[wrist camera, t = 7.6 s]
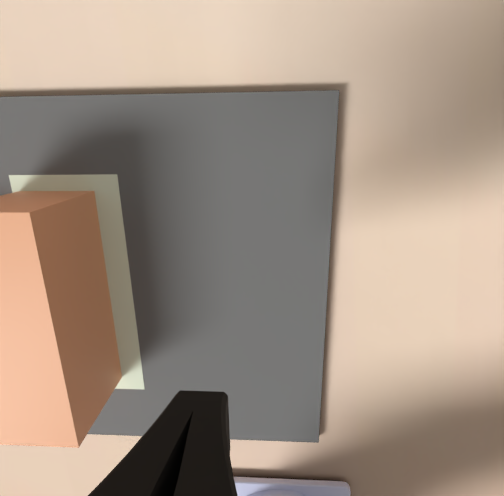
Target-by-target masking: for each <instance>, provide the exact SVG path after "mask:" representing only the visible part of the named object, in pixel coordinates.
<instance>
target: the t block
mask: <svg viewBox="0 0 504 496" xmlns="http://www.w3.org/2000/svg"><path fill="white" fill-rule="evenodd" d="M121 378H122V373H121V367H120V360H119V353H118V346H117V340H116V333H115V326H114V320H113V313H112V306H111V299H110V293H109V286H108V279H107V273H106V266H105V259H104V253H103V246H102V239H101V232H100V226H99V219H98V212H97V206H96V199H95V192H94V191H18V192H14V193H9V194H5V195H1V196H0V444H2V445H27V446H52V447H77V448H79V446H80V445H81V443H82V441H83V440H84V438H85V436H86V435H87V433H88V432H89V430H90V428H91V427H92V425H93V423H94V422H95V420H96V419H97V417H98V415H99V414H100V412H101V410H102V409H103V407H104V406H105V404H106V402H107V401H108V399H109V397H110V396H111V394H112V393H113V391H114V389H115V388H116V386H117V384H118V383H119V381H120V380H121Z"/></svg>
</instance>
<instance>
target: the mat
mask: <svg viewBox="0 0 504 496" xmlns="http://www.w3.org/2000/svg"><path fill="white" fill-rule="evenodd" d="M338 102H339V90H328V91H276V92H224V93H172V94H121V95H69V96H17V97H0V196H1V195H5V194H9V193H14V192H18V191H94V192H95V199H96V206H97V212H98V219H99V226H100V232H101V239H102V246H103V253H104V259H105V266H106V273H107V279H108V286H109V293H110V299H111V306H112V313H113V320H114V326H115V333H116V340H117V346H118V353H119V360H120V367H121V373H122V378H121V380H120V381H119V383H118V384H117V386H116V388H115V389H114V391H113V393H112V394H111V396H110V397H109V399H108V401H107V402H106V404H105V406H104V407H103V409H102V410H101V412H100V414H99V415H98V417H97V419H96V420H95V422H94V423H93V425H92V427H91V428H90V430H89V432H88V433H87V434H102V435H129V436H143V435H144V434H145V433H146V432H147V430H148V429H149V428H150V427H151V426H152V424H153V423H154V422H155V421H156V419H157V418H158V417H159V416H160V414H161V413H162V412H163V411H164V409H165V408H166V407H167V405H168V404H169V403H170V402H171V400H172V399H173V398H174V396H175V395H176V394H177V393H178V392H179V391H180V390H184V391H217V392H225V393H226V394H227V395H228V407H229V432H230V439H237V440H264V441H292V442H319V426H320V409H321V392H322V375H323V358H324V341H325V324H326V307H327V290H328V273H329V256H330V239H331V222H332V205H333V188H334V171H335V154H336V137H337V119H338Z"/></svg>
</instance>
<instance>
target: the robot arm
mask: <svg viewBox="0 0 504 496" xmlns="http://www.w3.org/2000/svg"><path fill="white" fill-rule="evenodd" d="M88 496H351V491H350V486H349V485H348V483H346V482H343V481H324V480H300V479H277V478H254V477H233V472H232V467H231V461H230V432H229V407H228V395H227V394H226V393H225V392H217V391H184V390H180V391H179V392H178V393H177V394H176V395H175V396H174V398H173V399H172V400H171V402H170V403H169V404H168V405H167V407H166V408H165V409H164V411H163V412H162V413H161V414H160V416H159V417H158V418H157V419H156V421H155V422H154V423H153V424H152V426H151V427H150V428H149V429H148V430H147V432H146V433H145V434H144V435H143V436H142V438H141V439H140V440H139V441H138V442H137V443H136V445H135V446H134V447H133V448H132V449H131V450H130V452H129V453H128V454H127V455H126V456H125V457H124V458H123V459H122V460H121V462H120V463H119V464H118V465H117V466H116V467H115V468H114V469H113V470H112V471H111V472H110V473H109V474H108V475H107V476H106V478H105V479H104V480H103V481H102V482H101V483H100V484H99V485H98V486H97V487H96V488H95V489H94V490H93V491H92V492H91V493H90V494H89V495H88Z"/></svg>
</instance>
